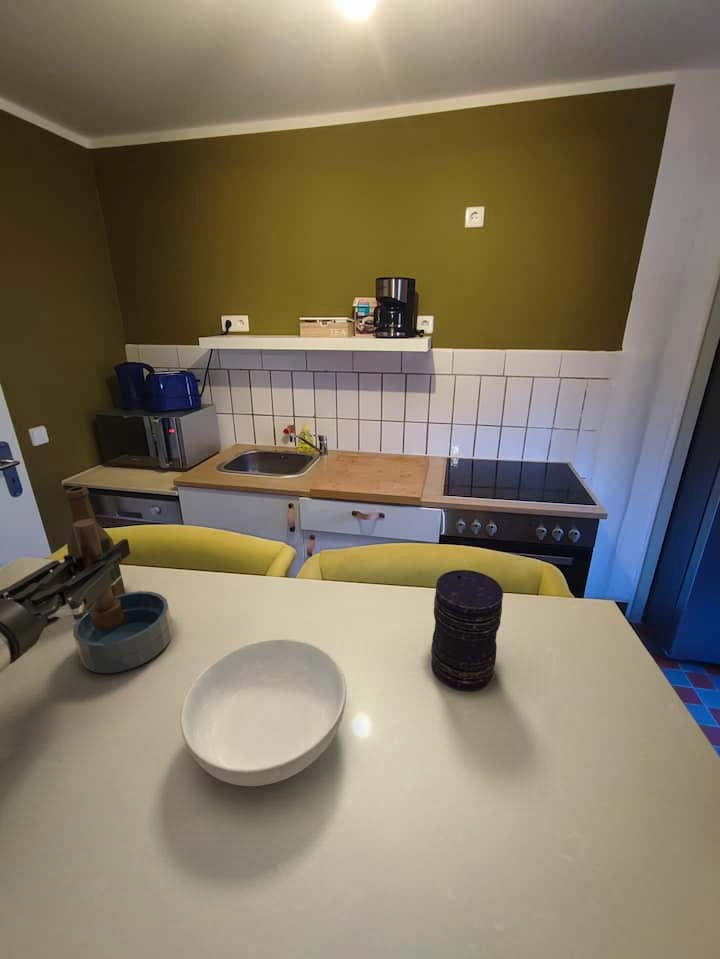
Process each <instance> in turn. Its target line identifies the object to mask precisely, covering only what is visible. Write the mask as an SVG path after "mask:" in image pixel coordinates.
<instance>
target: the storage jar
mask: <svg viewBox="0 0 720 959" xmlns="http://www.w3.org/2000/svg"><path fill="white" fill-rule="evenodd" d="M503 599H504V590H503V587H502V585H501V584H500V583H499V582H498V581H497V580H496V579H494V578H493V577H491V576H489V575H488V574H486V573H482V572H480V571H476V570H469V569H455V570H451V571H447V572H445V573H443V574H441V575H440V576H439V577H438V578H437V579H436V582H435V594H434V600H433V617H434V631H433V633H432V641H431V646H430V647H431V648H430V651H431V652H430V653H431V654H430V655H431V659H430V660H431V661H430V667H431V671H432V673H433V675H434V676H435V678H436V679H437V680H438V681H439V682H440V683H442V684H443V685H444V686H446V687H448V688H449V689H452V690H454V691H456V692H457V691H458V692H463V693H473V692H478V691H481V690H484V689H485V688H487V687H488V686H489V685H490V684H491V682H492V681H493V677H494V670H495V666H496V660H497V647H498V645H497V636H498V635H497V634H498V631H499V629H500V625H501V618H502V614H503Z"/></svg>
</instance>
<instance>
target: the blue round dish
mask: <svg viewBox="0 0 720 959" xmlns="http://www.w3.org/2000/svg"><path fill="white" fill-rule="evenodd" d="M113 598H117V599H119V600H120V603H121V607H122V611H123V615H124V618H123V620H122V621H121V622H120V623H119V624H118V625H116V626H114V627H112V628H109V629H104V630H99V629H96V628H94V626H93V622H92V619H91V615H90V611H89V610H90V609H88V610H86V613H85V615H84V617H83V618H81V619H78V620H76V621H75V624H74V626H73V627H72V628H73V629H72V631H73V632H72V636H73V639H74V642H75V646H76V649H77V652H78V657H79V659H80V662H81V664H82V665H83V666H84V668H85V669H86V670H89V671H92V672H93V673H98V674H100V673H101V674H114V673H120V672H125V671H127V670H130V669H133V668H136V667H138V666H141V665H143V664H145V663H146V662H148V661H150V660H151V659H153V658H155V657H156V656H157V655H158V654H159V653H161V652H162V651H163V650H164V649H165V648H166V647H167V645H168V644H169V643H170V641H171V640H172V636H173V632H174V627H173V623H172V618H171V617H172V616H171V612H170V608H169V604H168V600H167V598H165V597H164V596H163V595H162V594H160V593H157V592H153V591H149V590H148V591H143V590H138V591H131V592H125V594H121V595H118V596H114V597H113Z"/></svg>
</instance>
